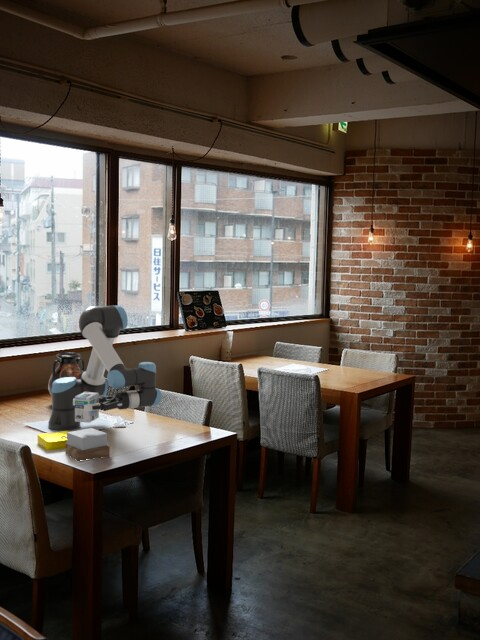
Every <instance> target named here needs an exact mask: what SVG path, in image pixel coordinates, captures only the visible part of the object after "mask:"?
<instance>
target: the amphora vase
mask: <svg viewBox="0 0 480 640" xmlns="http://www.w3.org/2000/svg"><path fill="white" fill-rule="evenodd" d="M55 356H56V357H57V358H58V359H55V360H54V361H53V363H52V366H51V374H50V377H49V380H48V385H47V386H48V387H47V389H48V392H49V394H50V396H51V397H52V384H53V382H54V381H55V380H57V379H60V378H64V377H75V378H76V379H77V380H78V379H81V376H82V374H83V373H84V372H85V360H84V359H83V358H82V357H81V354H80V353H77V352H60V353H57V354H56V355H55ZM79 361H80V364H81V367H80V366H79ZM57 363H58V366H57V367H56V365H57Z"/></svg>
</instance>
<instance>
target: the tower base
mask: <svg viewBox="0 0 480 640" xmlns="http://www.w3.org/2000/svg"><path fill="white" fill-rule="evenodd" d="M110 450H111V447H110V446H109V445H108V444H107V445H106V446H101V447H96V448H91V449H86V450H81V449H78V448H75V447H73V446H70V445H68V444H67V443H65V449H64V451H65V454H66V455H67V454H68V456H69V457H70V456H71V457H72V458H71V457H70V458H71V459H73V458H74V459H76V460H77V461H80V460H86V459H93V458H100V459H102V458H101V457H106V458H110V455H111V454H110ZM74 459H73V460H74ZM76 460H75V461H76ZM93 460H94V459H93ZM77 461H76V462H77ZM80 462H81V461H80Z"/></svg>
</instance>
